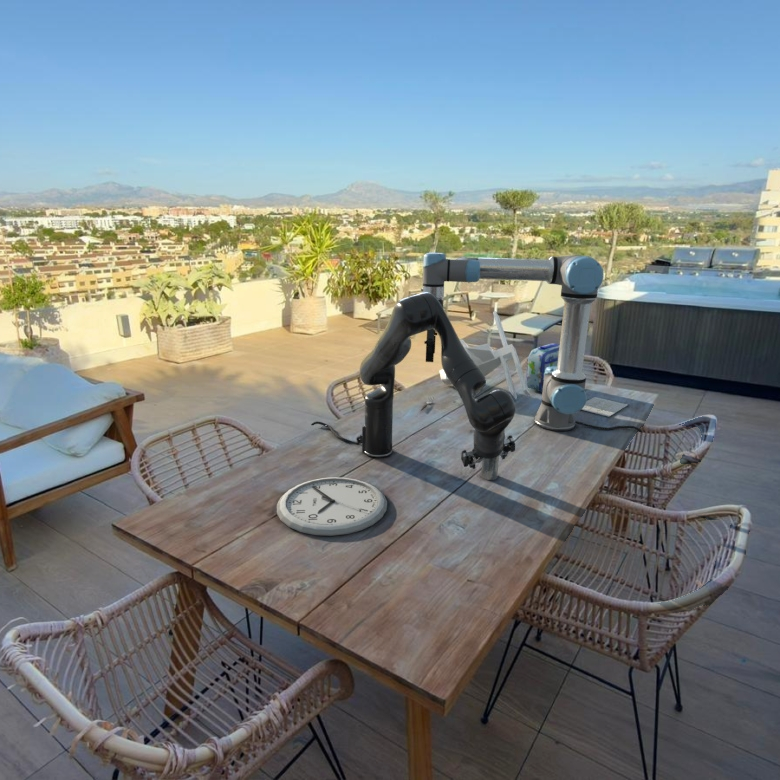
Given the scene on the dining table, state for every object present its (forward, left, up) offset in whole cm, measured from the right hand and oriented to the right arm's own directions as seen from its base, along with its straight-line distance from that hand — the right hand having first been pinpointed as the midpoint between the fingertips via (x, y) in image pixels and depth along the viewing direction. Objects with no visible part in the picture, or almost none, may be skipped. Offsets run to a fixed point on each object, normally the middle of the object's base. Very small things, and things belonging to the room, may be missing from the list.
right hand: (430, 357), depth 190 cm
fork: (+2, -26, -28) cm, 38 cm away
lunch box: (-54, -63, -28) cm, 88 cm away
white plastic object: (-22, -50, -28) cm, 61 cm away
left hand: (-19, +51, -16) cm, 57 cm away
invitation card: (-73, -38, -28) cm, 87 cm away
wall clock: (+23, +61, -28) cm, 71 cm away
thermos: (-21, +36, -28) cm, 51 cm away
